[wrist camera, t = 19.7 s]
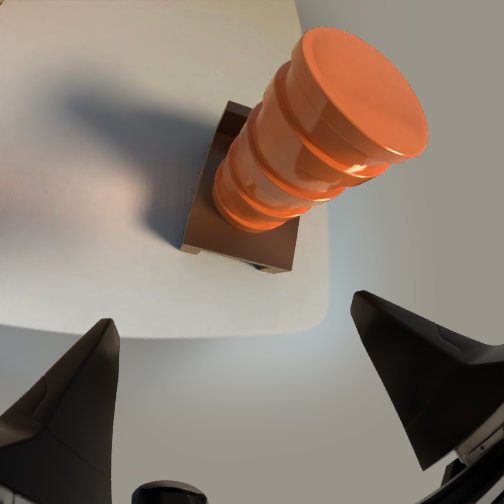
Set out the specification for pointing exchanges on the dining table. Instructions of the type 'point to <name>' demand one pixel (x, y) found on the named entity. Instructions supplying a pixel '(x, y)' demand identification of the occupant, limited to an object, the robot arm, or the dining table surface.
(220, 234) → the bookend
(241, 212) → the orange ribbed tumbler
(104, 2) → the dining table surface
